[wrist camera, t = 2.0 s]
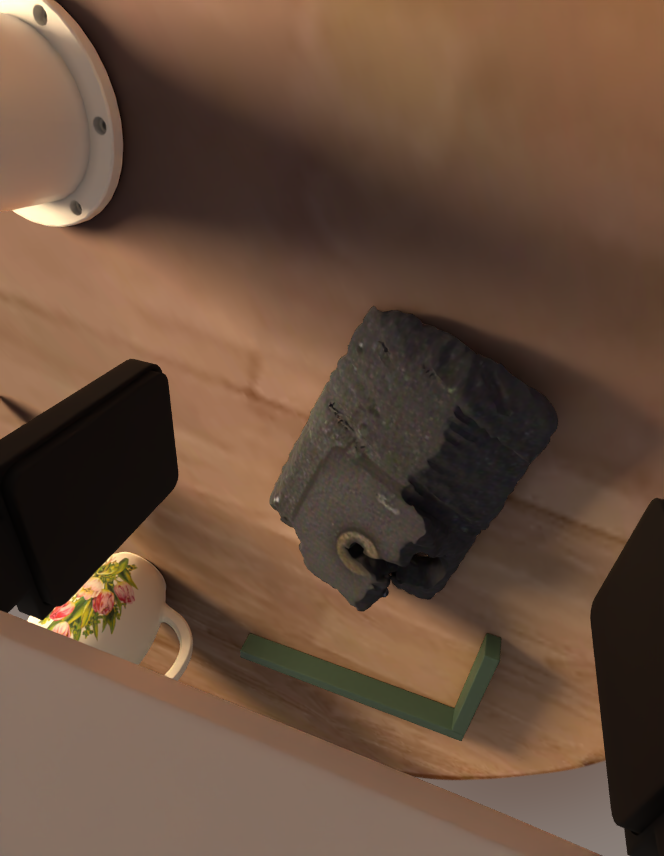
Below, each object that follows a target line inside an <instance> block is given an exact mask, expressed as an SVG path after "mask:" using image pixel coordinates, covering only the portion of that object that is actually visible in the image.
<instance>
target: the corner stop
mask: <svg viewBox="0 0 664 856" xmlns="http://www.w3.org/2000/svg"><path fill="white" fill-rule="evenodd" d="M500 649H501V638H500V637H497V636H494V635H491V634H488V633H487V634H486V636H485V638H484V640H483V643H482V645H481V647H480V650H479V652H478V654H477V657H476V659H475V662H474V664H473V666H472V669H471V671H470V673H469V676H468V678H467V680H466V683H465V685H464V687H463V690H462V692H461V694H460V697H459V699H458V701H457V704H456V706H455V708H452V707H449V706H447V705H444V704H441V703H438V702H436V701H433V700H430V699H428V698H425V697H422V696H419V695H417V694H414V693H411V692H409V691H406V690H403V689H400V688H398V687H395V686H392V685H390V684H387V683H384V682H381V681H379V680H376V679H373V678H371V677H368V676H365V675H362V674H360V673H357V672H354V671H351V670H349V669H346V668H343V667H341V666H338V665H335V664H332V663H330V662H327V661H324V660H322V659H319V658H316V657H313V656H311V655H308V654H305V653H303V652H300V651H297V650H294V649H292V648H289V647H286V646H284V645H281V644H278V643H275V642H273V641H270V640H267V639H265V638H262V637H259V636H256V635H254V634H251V633H250V634H249V635H248V637H247V639H246V641H245V643H244V645H243V646H242V648H241V650H240V657H241V658H244V659H247V660H249V661H252V662H255V663H257V664H260V665H262V666H265V667H268V668H270V669H273V670H275V671H278V672H281V673H283V674H286V675H289V676H291V677H294V678H296V679H299V680H302V681H304V682H307V683H310V684H312V685H315V686H317V687H320V688H323V689H325V690H328V691H331V692H333V693H336V694H338V695H341V696H344V697H346V698H349V699H352V700H354V701H357V702H359V703H362V704H365V705H367V706H370V707H373V708H375V709H378V710H380V711H383V712H386V713H388V714H391V715H394V716H396V717H399V718H401V719H404V720H407V721H409V722H412V723H415V724H417V725H420V726H422V727H425V728H428V729H430V730H433V731H436V732H438V733H441V734H443V735H446V736H449V737H451V738H454V739H457V740H459V741H462V739H463V737H464V735H465V733H466V731H467V729H468V727H469V725H470V722H471V720H472V718H473V716H474V714H475V712H476V710H477V708H478V706H479V704H480V701H481V699H482V697H483V695H484V693H485V691H486V689H487V687H488V685H489V682H490V680H491V678H492V676H493V674H494V672H495V670H496V668H497V666H498V664H499V661H500Z"/></svg>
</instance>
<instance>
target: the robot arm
mask: <svg viewBox="0 0 664 856" xmlns="http://www.w3.org/2000/svg"><path fill="white" fill-rule="evenodd" d="M122 159H123V136H122V125H121V118H120V114H119V109H118V105H117V101H116V96H115V94H114V91H113V88H112V85H111V83H110V80H109V77H108V74H107V72H106V70H105V68H104V66H103V64H102V62H101V60H100V58H99V56H98V54H97V52H96V50H95V48H94V46H93V45H92V43H91V42H90V40H89V39H88V38H87V36H86V35H85V33H84V32H83V30H82V29H81V27H80V26H79V25H78V23H77V22H76V21H75V20H74V19H73V18H72V17H71V16H70V15H69V14H68V13H67V12H66V10H65V9H64V8H63V7H62V6H61V5H60V4H58V3H57V2H56V1H54V0H0V212H5V211H10V210H13V211H14V212H15V213H17V214H18V215H20V216H22V217H24V218H26V219H28V220H30V221H32V222H35V223H38V224H41V225H45V226H51V227H65V226H71V225H76V224H79V223H82V222H85V221H88V220H90V219H92V218H93V217H94V216H96V215H97V214H99V213H100V212H101V211H102V210H103V209H104V208H105V206H106V205H107V204H108V203H109V201H110V200H111V198H112V196H113V194H114V192H115V189H116V187H117V185H118V181H119V177H120V173H121V168H122ZM177 481H178V465H177V456H176V447H175V439H174V430H173V421H172V412H171V403H170V394H169V385H168V379H167V377H166V375H165V374H163V373H162V370H161V369H160V367H159V366H158V365H156V364H152V363H148V362H144V361H140V360H136V359H129V360H126V361H125V362H123V363H122V364H120V365H118V366H117V367H115V368H114V369H112V370H110V371H109V372H107V373H106V374H104V375H102V376H101V377H99V378H98V379H96V380H94V381H93V382H91V383H90V384H88V385H87V386H85V387H83V388H82V389H80V390H79V391H77V392H75V393H74V394H72V395H71V396H69V397H67V398H66V399H64V400H63V401H61V402H59V403H58V404H56V405H55V406H53V407H51V408H50V409H48V410H47V411H45V412H43V413H42V414H40V415H39V416H37V417H35V418H34V419H32V420H31V421H29V422H27V423H26V424H24V425H23V426H21V427H20V428H18V429H16V430H15V431H13V432H12V433H10V434H8V435H7V436H5V437H4V438H2V439H0V856H602V855H599V854H597V853H595V852H592V851H590V850H588V849H585V848H583V847H580V846H578V845H576V844H573V843H571V842H569V841H566V840H564V839H562V838H560V837H557V836H555V835H553V834H550V833H548V832H546V831H543V830H541V829H538V828H536V827H534V826H532V825H529V824H527V823H525V822H522V821H520V820H518V819H515V818H513V817H510V816H508V815H506V814H503V813H501V812H498V811H496V810H493V809H491V808H489V807H486V806H483V805H481V804H479V803H477V802H474V801H472V800H469V799H466V798H464V797H462V796H459V795H457V794H454V793H452V792H450V791H447V790H445V789H442V788H440V787H437V786H435V785H433V784H430V783H427V782H425V781H423V780H420V779H418V778H415V777H413V776H411V775H408V774H406V773H403V772H401V771H398V770H396V769H393V768H391V767H389V766H386V765H384V764H381V763H379V762H376V761H374V760H371V759H369V758H367V757H364V756H362V755H359V754H357V753H354V752H352V751H350V750H347V749H345V748H342V747H340V746H337V745H335V744H332V743H330V742H328V741H325V740H323V739H320V738H318V737H315V736H313V735H310V734H308V733H305V732H303V731H300V730H298V729H295V728H293V727H290V726H288V725H286V724H283V723H281V722H278V721H276V720H273V719H271V718H268V717H266V716H263V715H261V714H258V713H256V712H253V711H251V710H248V709H246V708H243V707H241V706H239V705H236V704H234V703H231V702H229V701H226V700H224V699H221V698H219V697H216V696H214V695H211V694H209V693H206V692H204V691H201V690H199V689H196V688H194V687H191V686H189V685H186V684H184V683H181V682H179V681H177V680H174V679H172V678H169V677H167V676H164V675H162V674H159V673H157V672H154V671H152V670H149V669H147V668H144V667H142V666H139V665H137V664H134V663H132V662H129V661H127V660H124V659H122V658H119V657H117V656H114V655H112V654H109V653H107V652H104V651H102V650H99V649H96V648H94V647H91V646H89V645H86V644H84V643H81V642H79V641H76V640H74V639H71V638H69V637H66V636H64V635H61V634H59V633H56V632H54V631H51V630H49V629H46V628H44V627H41V626H39V625H36V624H34V623H31V622H28V621H26V620H23V619H21V618H18V617H16V616H13V615H11V614H8V612H9V611H10V610H11V609H12V608H13V607H14V606H15V605H17V607H18V610H19V611H20V612H23V613H25V614H27V615H30V616H32V617H35V618H37V619H40V620H42V621H43V620H44V619H45V618H46V617H47V616H48V615H49V614H50V613H51V612H52V611H53V609H54V608H55V607H59V606H62V605H64V604H66V603H67V602H68V601H69V600H70V599H71V598H72V597H73V596H74V595H75V594H76V593H77V592H78V590H79V589H80V588H81V587H82V586H83V585H84V584H85V583H86V582H87V581H88V580H89V579H90V578H91V577H92V576H93V575H94V573H95V572H96V571H97V570H98V569H99V568H100V567H101V566H102V565H103V564H104V563H105V562H106V561H107V560H108V559H109V557H110V556H111V555H112V554H113V553H114V552H115V551H116V550H117V549H118V548H119V547H120V546H121V545H122V544H123V543H124V541H125V540H126V539H127V538H128V537H129V536H130V535H131V534H132V533H133V532H134V531H135V530H136V529H137V528H138V527H139V525H140V524H141V523H142V522H143V521H144V520H145V519H146V518H147V517H148V516H149V515H150V514H151V513H152V512H153V511H154V510H155V508H156V507H157V506H158V505H159V504H160V503H161V502H162V501H163V500H164V499H165V498H166V497H167V496H168V495H169V494H170V492H171V491H172V490H173V489H174V487H175V486H176V483H177ZM590 619H591V629H592V638H593V648H594V657H595V666H596V675H597V684H598V694H599V703H600V712H601V721H602V730H603V739H604V749H605V758H606V767H607V776H608V784H609V795H610V804H611V811H612V816H613V819H614V822H615V823H616V824H617V825H618V826H621V827H623V828H624V829H625V838H626V846H627V854H628V855H630V856H664V499H659V498H655V499H653V500H652V501H651V502H650V504H649V505H648V507H647V509H646V511H645V512H644V514H643V516H642V518H641V519H640V521H639V523H638V524H637V526H636V528H635V530H634V531H633V533H632V535H631V536H630V538H629V540H628V542H627V543H626V545H625V547H624V549H623V550H622V552H621V554H620V555H619V557H618V559H617V561H616V562H615V564H614V566H613V567H612V569H611V571H610V573H609V574H608V576H607V578H606V579H605V581H604V583H603V585H602V586H601V588H600V590H599V592H598V593H597V595H596V597H595V599H594V601H593V604H592V608H591V615H590Z"/></svg>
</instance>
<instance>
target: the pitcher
mask: <svg viewBox="0 0 664 856" xmlns="http://www.w3.org/2000/svg"><path fill="white" fill-rule="evenodd" d="M165 591H166V583H165V580H164V578H163V576H162V575H161V573H160V572H159V571H158V569H157V568H156V567H155V566H154V565H152V564H151V563H150V562H149V561H147V560H146V559H144V558H142V557H140V556H138V555H136V554H133V553H129V552H120V553H117V554H112V555H111V556H110V557H109V559H108V560H107V561H106V562H105V563H104V564H103V565H102V566H101V567H100V568H99V569H98V570H97V571H96V572H95V573H94V575H93V576H92V577H91V578H90V579H89V580H88V581H87V582H86V583H85V584H84V585H83V586H82V587H81V588H80V589H79V590H78V592H77V593H76V594H75V595H74V596H73V597H72V598H71V599H70V600H69V601H68V602H67V603H66V604H64V605H62V606H59V607H55V608H54V609H53V611H52V612H51V613H50V614H49V615H48V616H47V617H46V618H45V619H44V620H43V621H42V620H40V619H37V618H35V617H32V616H30V617H29V619H28V620H27V621H28V622H31V623H34V624H36V625H39V626H41V627H44V628H46V629H49V630H51V631H54V632H56V633H59V634H61V635H64V636H66V637H69V638H71V639H74V640H76V641H79V642H81V643H84V644H86V645H89V646H91V647H94V648H96V649H99V650H102V651H104V652H107V653H109V654H112V655H114V656H117V657H119V658H122V659H124V660H127V661H129V662H132V663H134V664H137V665H139V664H140V662H141V661H142V660H143V658H144V657H145V655H146V654H147V652H148V650H149V649H150V647H151V645H152V643H153V641H154V639H155V637H156V634H157V632H158V629H159V627H160V624H161V623H162V622H165V623H167V624H168V625H170V626H171V627H172V628H173V629H174V631H175V632H176V634H177V636H178V639H179V642H180V650H179V654H178V656H177V658H176V661H175V662H174V664H173V665H172V667H171V668H170V670H169V671H168V672H167V673H166V674H165V675H164V676H167V677H169V678H172V679H174V680H177V681H178V680H179V679H180V677H181V676H182V674H183V673H184V671H185V669H186V668H187V665H188V663H189V661H190V659H191V655H192V651H193V638H192V633H191V630H190V627H189V625H188V623H187V622H186V620H185V619H184V618H183V617H182V616H181V615H180V614H179V613H177V612H176V611H175V610H173V609H172V608H171V607H169V606H168V605H167V604H166V603H165V601H166V593H165Z"/></svg>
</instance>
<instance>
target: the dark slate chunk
mask: <svg viewBox="0 0 664 856" xmlns="http://www.w3.org/2000/svg"><path fill="white" fill-rule="evenodd" d="M310 414H311V415H310V417H309V419H308V422H307V424H306V425H305V427H304V428H303V430H302V433H301V435H300V437H299V439H298V440H297V441H296V443H295V444H294V447H293V449H292V451H291V452H290V454H289V460H288V461H287V463H286V464H285V465H284V466H283V468H282V473H281V475H280V476H279V478H278V481H277V482H276V484H275V487H274V490H273V491H272V493H271V496H270V505H271V506H272V508H273V509H275V510H277V511H278V512H279V514H280V516H281V519H280V520H281V521H282V522H284V523H285V524H287V525H288V526H290V527H293V528H294V529H295V531H296V534H297V536H298V538H299V539H300V541H301V543H300V545H299V549H300V551H301V553H302V555H303V557H304V563H305V565H306V567H307V568H308V570H310V571H311V572H312V573H313V574H314V575H315V576H317V577H318V578H320V579H321V580H322V581H324V582H326V583H328V584H329V585H331V586H332V587H333V588H335V589H338V591H339V592H340V593H341V594H342V595H343V596H344V597H345V598H346V599H347V601H348V602H349V603H350V605H352V606H354V607H356V608H357V610H358V611H365V610H367V609H368V608H369V607H371V605H372V604H373V603H375V602H376V601H377V600H378V599H379V598H381V597H386V596H387V595H388V593H389V591H388V588H387V587H388V585H389V584H390V579H391V580H392V582H393V584H394V585H395V586H396V587H397V588H398V589H403V590H405V591H406V592H407V593H409V594H412V595H415V596H416V597H418V598H422V599H431V598H432V597H433V596H434V595H435V594H436V593H438V592H439V591H441V590H442V589H443V588H444V587H445V585H446V582H447V581H448V580H449V578H450V577H451V575H452V574H453V573H454V572H455V571H456V570H457V568H458V566H459V564H460V563H461V561H462V560H463V559H464V557H465V555H466V553H467V552H468V550H469V549H470V547H471V546H472V544H473V543H474V542H475V540H476V536H477V535H478V534H480V532H481V530H486V529H487V528H488V527H489V524H490V522H491V521H492V520H493V519H494V518H496V516H497V515H498V514H499V512H500V511H501V510H502V509H503V507H504V504H505V501H506V499H507V496H508V495H509V494H510V493H511V492H513V491H514V488H515V486H516V485H517V482H518V481H519V480H520V479H521V478H522V476H523V475H524V474H525V472H526V470H527V468H528V466H529V465H530V464H531V463H532V462H533V460H534V459H535V458H536V457H537V456H538V455H539V454H540V453H541V452H542V451H543V450H544V449H545V448H546V447H547V445H548V444H549V442H550V436H551V435H552V434H553V433H554V432H555V431H556V429H557V426H558V418H557V414H556V411H555V409H554V407H553V406H552V404H551V403H550V402H549V401H548V400H547V399H546V397H545V396H544V395H542V394H541V393H539V392H538V391H536V390H535V389H533V388H531V387H529V386H527V385H526V384H524V383H523V382H522V381H520V380H519V379H518V378H516V377H514V376H513V375H512V374H511V373H509V372H508V371H507V370H506V369H505V367H504V366H503V365H502V364H497V363H496V362H494V361H493V360H492V359H490V358H487V357H484V356H482V355H481V354H479V353H478V354H477V355H476V353H475V352H474V351H473V350H471V349H470V348H469V347H468V346H466V345H465V344H464V343H462V342H461V341H460V340H459V339H457V338H456V337H455V336H453V335H452V334H450V333H447V332H444V331H442V330H439V329H437V328H436V327H434V326H432V325H427V324H423V323H421V320H420V319H418V318H417V317H415V316H414V315H413V314H406V313H402V312H400V311H398V310H391V311H385V312H382V311H379V310H377V309H376V307H375V306H373V307H372V308H371V309H370V310H369V312H368V313H367V315H366V316H365V317H364V320H363V323H361V324H360V325H359V326H358V327H357V329H356V330H355V332H354V334H353V336H352V338H351V341H350V344H349V345H348V353H347V355H345V356H343V357H341V358H340V360H339V361H338V364H337V368H336V370H334V371H333V372H332V373H331V375H330V381H329V382H328V383H327V384H326V385H325V387H324V389H323V391H322V394H321V395H320V397H319V399H318V400H317V402H316V404H315V407H314V408H313V409H312V410H311V412H310ZM419 552H423V553H425V554H427V555H428V556H429V557H430V558H425V557H418V556H416V555H415V554H416V553H419ZM388 573H389V574H390V573H392V574H391V576H389V574H388Z"/></svg>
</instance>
